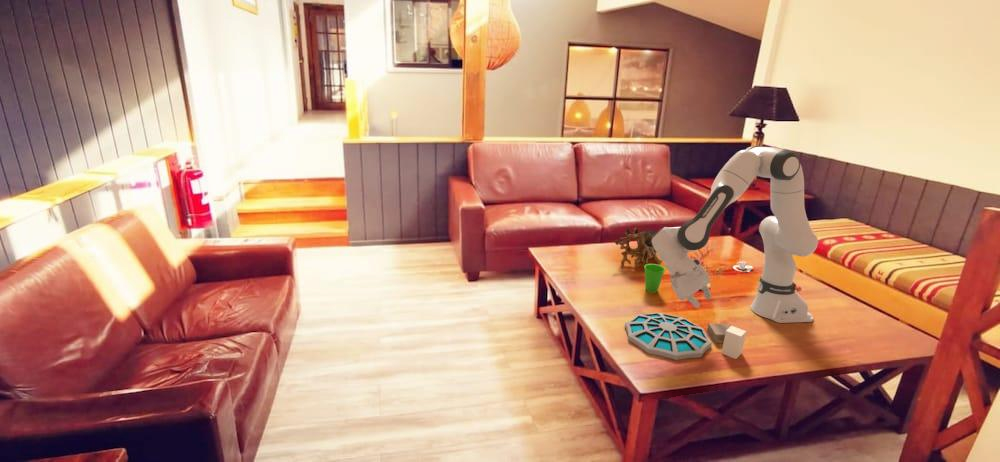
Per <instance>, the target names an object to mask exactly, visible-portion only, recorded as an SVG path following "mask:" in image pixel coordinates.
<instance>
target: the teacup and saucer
mask: <svg viewBox="0 0 1000 462" xmlns="http://www.w3.org/2000/svg"><path fill="white" fill-rule="evenodd" d="M737 268H738V269H737ZM732 269H734V270H735V271H738V272H742V273H749V272H751V271H752V270H753V269H754V267H753V266H752V265H747V261H744V260H739V262H737V263H736V265H733V267H732Z"/></svg>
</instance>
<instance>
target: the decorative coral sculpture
mask: <svg viewBox="0 0 1000 462" xmlns="http://www.w3.org/2000/svg"><path fill="white" fill-rule="evenodd" d="M633 230H634V231H633V232H632V231H631V230H629V228H628V227H627V228H626V229H625V231H624V234H625V236H626V237H619V238H618V239H616V240H615V241H614V244H615V245H617V246H618V245H620V250H625V251H622V252H621V255H622V259H621V261H620V265H622V266H624V265H625V262H627V263H628V264H629V265H632V262H631V260H629V259H628V255H629V256H630V258H631V259H634V258H635V259H634V265H633V268H634V269H636V268H637V266H638V264H639V263H640V262H643V264H642V266H643V268H644V266H645V265H646V264H649V262H648V261H649V259H650V260H651V259H652V258H653V259H654V260H655V261H656V263H657V265H662V263H663V260H662V259H659V256H658V254H657V252H656V251H655V249H654V247H653V245H652V238H653V236H654V235H655V234H656V233H657V232H656V231H655V230H643V231H641V232H639V229H638V227H634V229H633ZM631 239H635V241H636V244H637V247H635V248H633V247H632V248H631V247H630V243H631V241H630V240H631ZM620 240H622V241H620Z"/></svg>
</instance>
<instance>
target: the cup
mask: <svg viewBox="0 0 1000 462" xmlns="http://www.w3.org/2000/svg"><path fill="white" fill-rule="evenodd" d="M657 264H658V263H657ZM657 264H656V263H648V264H646V265H645V266H644V267H643V268H644V282H645V284H644V286H645V287H644V288H645V291H646V290H647V291H646V292H648V293H651V292H652V294H654V293H653V292H655V293H657V292H658V291H659V287H660V286H661V282H662V279H663V275H664V273H665V272H666V268H665V267H664V266H663V265H662V264H659V265H657Z"/></svg>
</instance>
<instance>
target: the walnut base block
mask: <svg viewBox="0 0 1000 462" xmlns="http://www.w3.org/2000/svg"><path fill="white" fill-rule="evenodd" d="M731 326H732V325H731V324H727V323H714V322H712V323H711V322H708V324H707V330H706V331H707V335H709V337H710V340H712V343H716V344H718V343H719V344H723V343H724V338H725V333H726V330H727V329H728V328H730V327H731Z"/></svg>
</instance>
